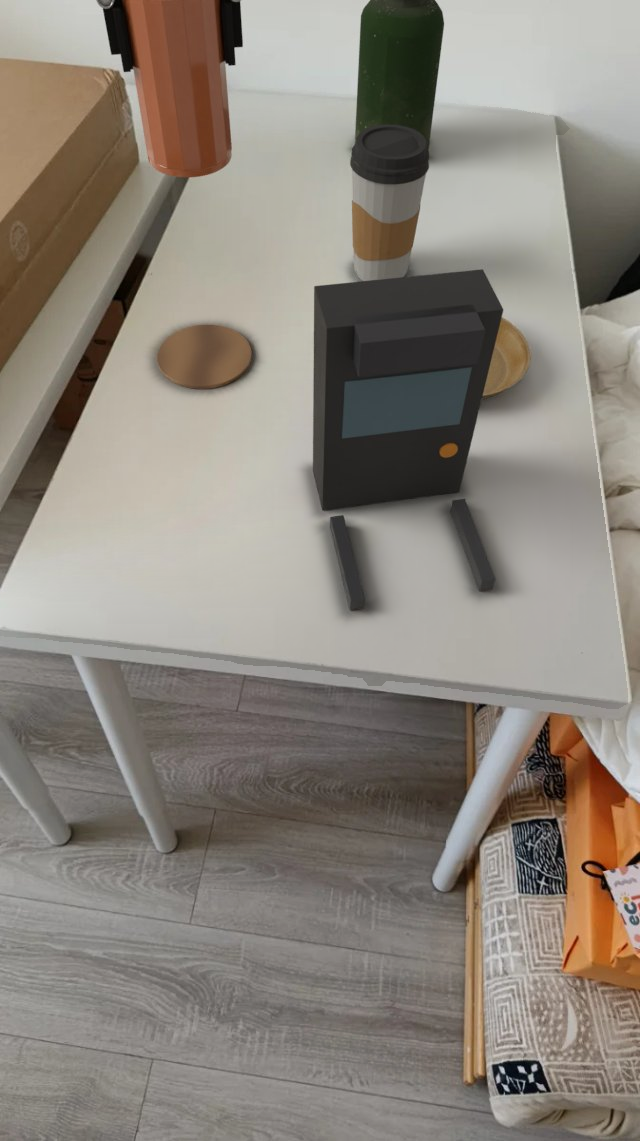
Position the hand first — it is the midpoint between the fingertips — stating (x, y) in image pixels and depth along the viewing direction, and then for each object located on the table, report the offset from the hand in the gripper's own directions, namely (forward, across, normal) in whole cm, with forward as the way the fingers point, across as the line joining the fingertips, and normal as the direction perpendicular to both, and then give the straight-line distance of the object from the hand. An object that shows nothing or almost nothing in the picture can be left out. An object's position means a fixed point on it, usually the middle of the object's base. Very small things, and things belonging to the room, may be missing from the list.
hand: (178, 58), depth 58 cm
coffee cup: (+29, -21, -14) cm, 39 cm away
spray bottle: (+29, -29, -42) cm, 59 cm away
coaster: (+29, +1, -2) cm, 29 cm away
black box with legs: (+29, -14, +24) cm, 40 cm away
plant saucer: (+29, -25, +4) cm, 39 cm away
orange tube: (+7, 0, 0) cm, 7 cm away
